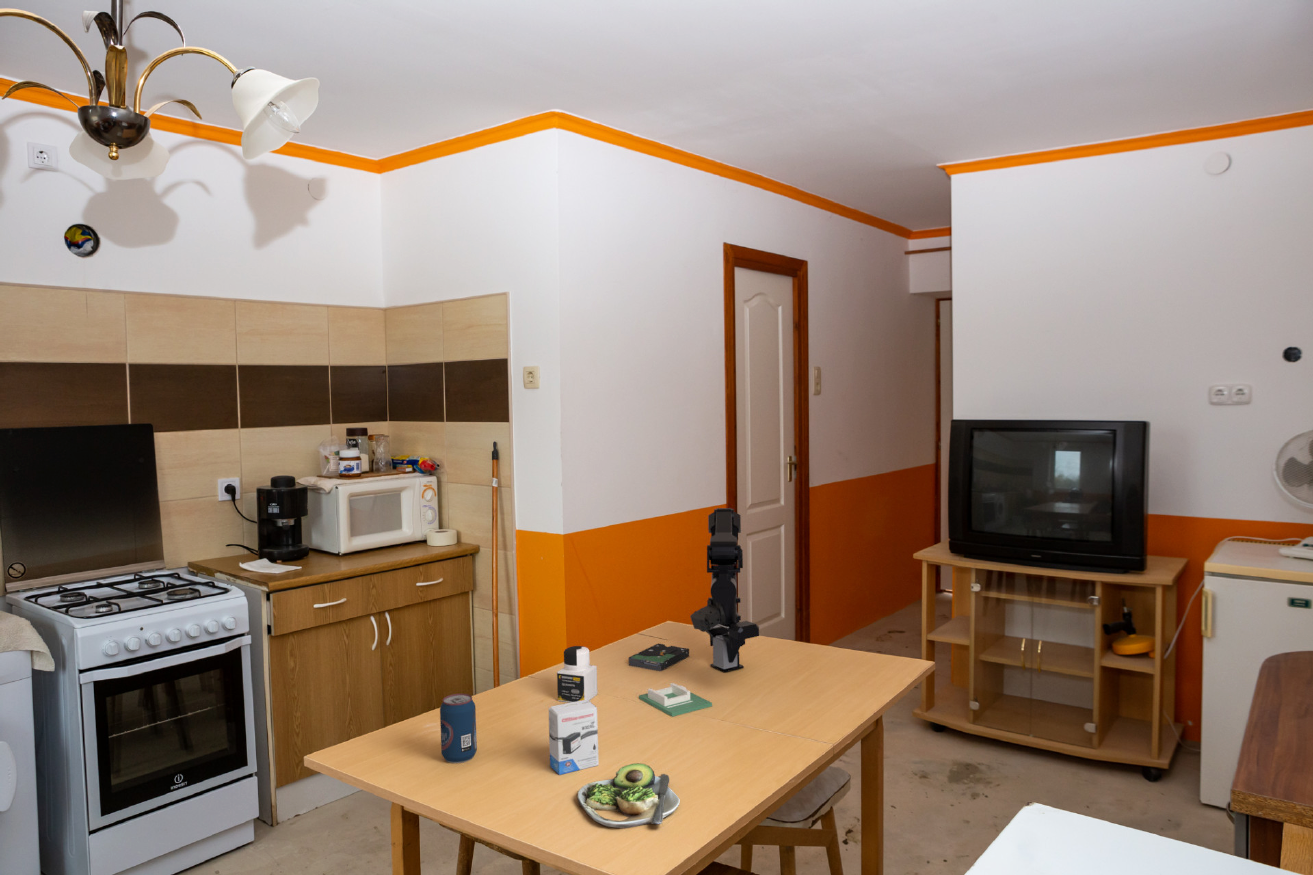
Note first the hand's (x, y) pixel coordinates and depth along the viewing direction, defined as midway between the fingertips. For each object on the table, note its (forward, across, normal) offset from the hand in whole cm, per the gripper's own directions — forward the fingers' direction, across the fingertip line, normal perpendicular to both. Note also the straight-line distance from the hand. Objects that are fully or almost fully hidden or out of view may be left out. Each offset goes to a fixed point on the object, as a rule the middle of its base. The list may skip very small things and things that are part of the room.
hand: (725, 659), depth 205 cm
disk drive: (+10, -33, +3) cm, 35 cm away
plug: (+1, 0, 0) cm, 1 cm away
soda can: (+10, -5, -63) cm, 64 cm away
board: (+9, -5, -11) cm, 15 cm away
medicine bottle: (+10, -21, -28) cm, 36 cm away
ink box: (+10, +12, -46) cm, 48 cm away
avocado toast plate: (+10, +31, -45) cm, 55 cm away
